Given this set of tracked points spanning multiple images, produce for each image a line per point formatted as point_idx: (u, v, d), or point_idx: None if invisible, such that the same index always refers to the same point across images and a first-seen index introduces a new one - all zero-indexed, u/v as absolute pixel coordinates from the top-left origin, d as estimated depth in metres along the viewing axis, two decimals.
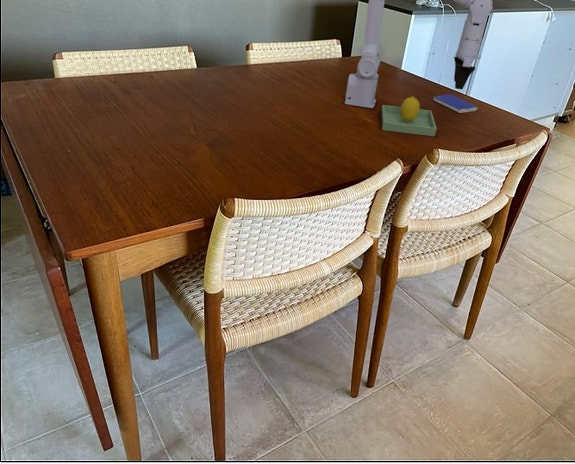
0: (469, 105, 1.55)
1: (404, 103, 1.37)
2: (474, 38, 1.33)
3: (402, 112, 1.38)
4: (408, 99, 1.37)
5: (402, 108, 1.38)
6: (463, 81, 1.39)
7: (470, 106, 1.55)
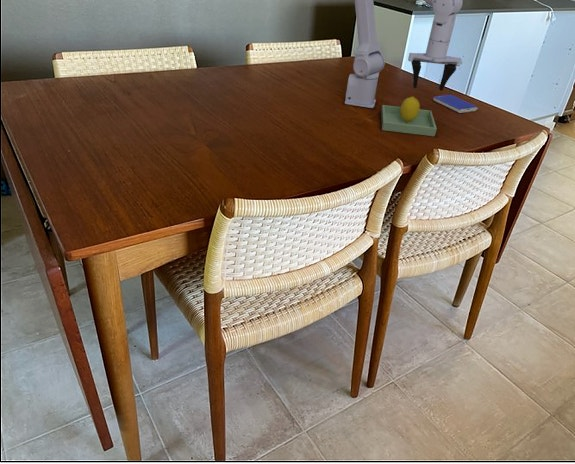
0: (469, 105, 1.55)
1: (404, 103, 1.37)
2: (437, 39, 1.28)
3: (402, 112, 1.38)
4: (408, 99, 1.37)
5: (402, 108, 1.38)
6: None
7: (470, 106, 1.55)
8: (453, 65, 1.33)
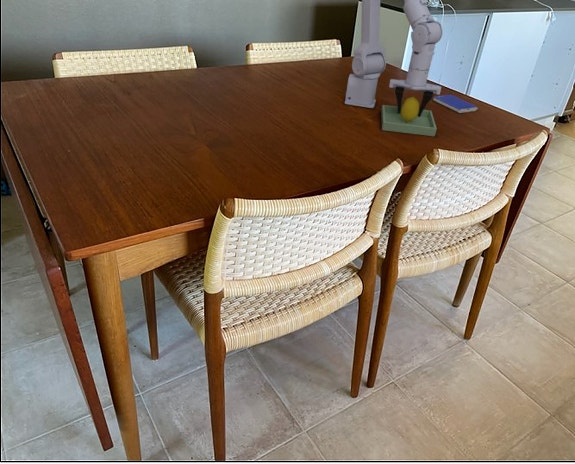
0: (469, 105, 1.55)
1: (404, 103, 1.37)
2: (414, 67, 1.30)
3: (402, 112, 1.38)
4: (408, 99, 1.37)
5: (402, 108, 1.38)
6: (398, 105, 1.38)
7: (470, 106, 1.55)
8: None
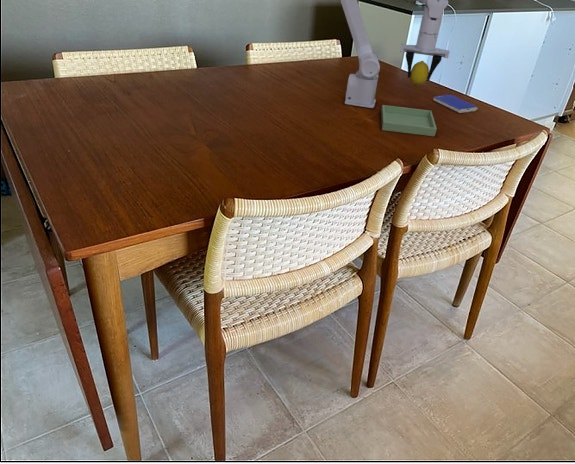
0: (469, 105, 1.55)
1: (414, 67, 1.45)
2: (432, 32, 1.37)
3: (412, 76, 1.46)
4: (418, 63, 1.45)
5: (412, 72, 1.46)
6: None
7: (470, 106, 1.55)
8: (441, 57, 1.42)
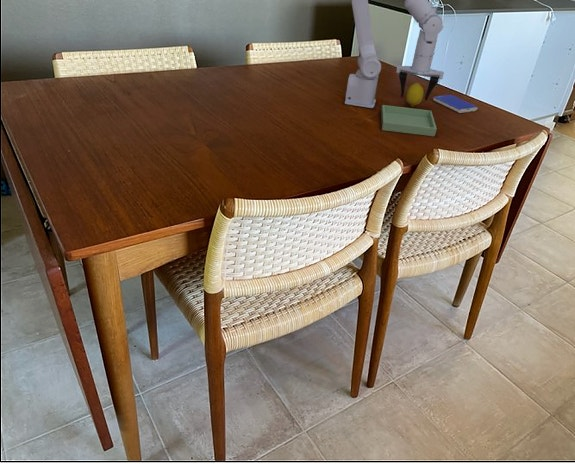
0: (469, 105, 1.55)
1: (410, 89, 1.50)
2: (428, 55, 1.43)
3: (408, 97, 1.51)
4: (413, 85, 1.50)
5: (408, 93, 1.51)
6: None
7: (470, 106, 1.55)
8: (436, 78, 1.47)
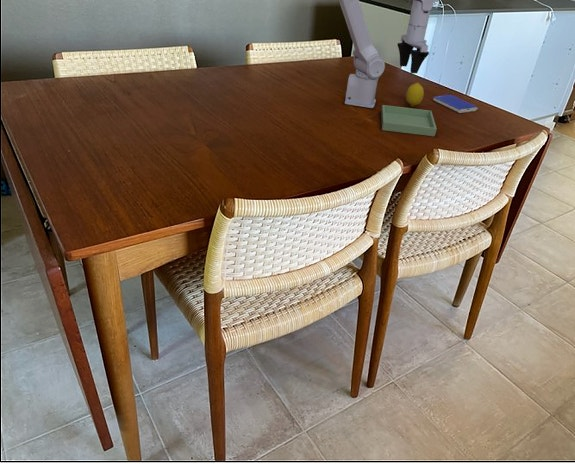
0: (469, 105, 1.55)
1: (410, 89, 1.50)
2: (424, 25, 1.43)
3: (408, 97, 1.51)
4: (413, 85, 1.50)
5: (408, 93, 1.51)
6: (418, 65, 1.49)
7: (470, 106, 1.55)
8: None
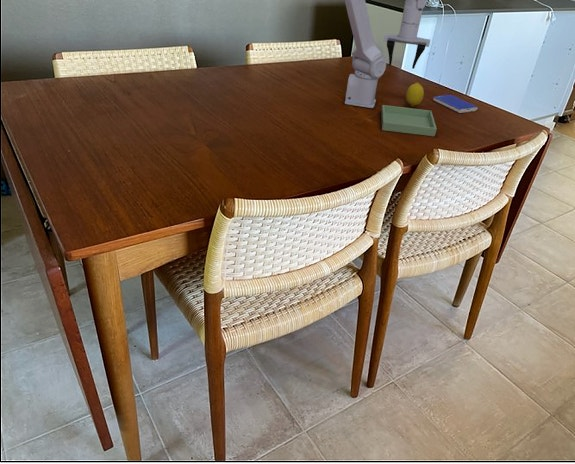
0: (469, 105, 1.55)
1: (410, 89, 1.50)
2: (418, 22, 1.47)
3: (408, 97, 1.51)
4: (413, 85, 1.50)
5: (408, 93, 1.51)
6: None
7: (470, 106, 1.55)
8: None
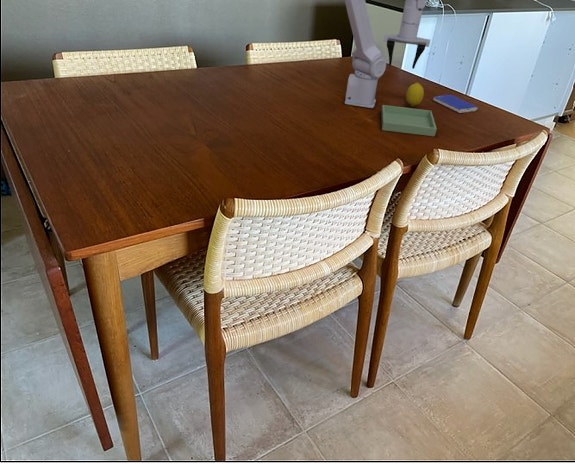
0: (469, 105, 1.55)
1: (410, 89, 1.50)
2: (418, 22, 1.47)
3: (408, 97, 1.51)
4: (413, 85, 1.50)
5: (408, 93, 1.51)
6: None
7: (470, 106, 1.55)
8: None
